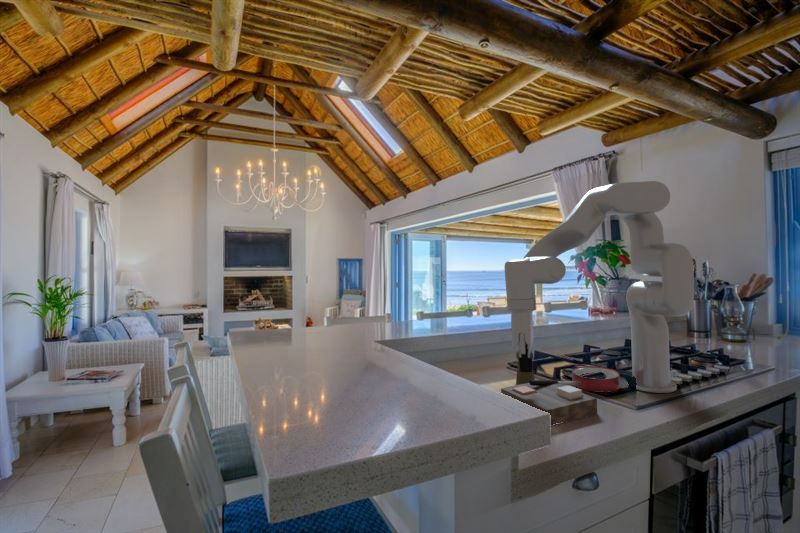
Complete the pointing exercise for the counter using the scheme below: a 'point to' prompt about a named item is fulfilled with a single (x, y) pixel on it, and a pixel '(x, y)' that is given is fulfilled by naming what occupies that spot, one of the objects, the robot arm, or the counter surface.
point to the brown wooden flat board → (555, 402)
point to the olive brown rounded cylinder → (523, 373)
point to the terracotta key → (524, 390)
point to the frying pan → (587, 380)
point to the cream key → (569, 392)
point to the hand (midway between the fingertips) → (526, 371)
